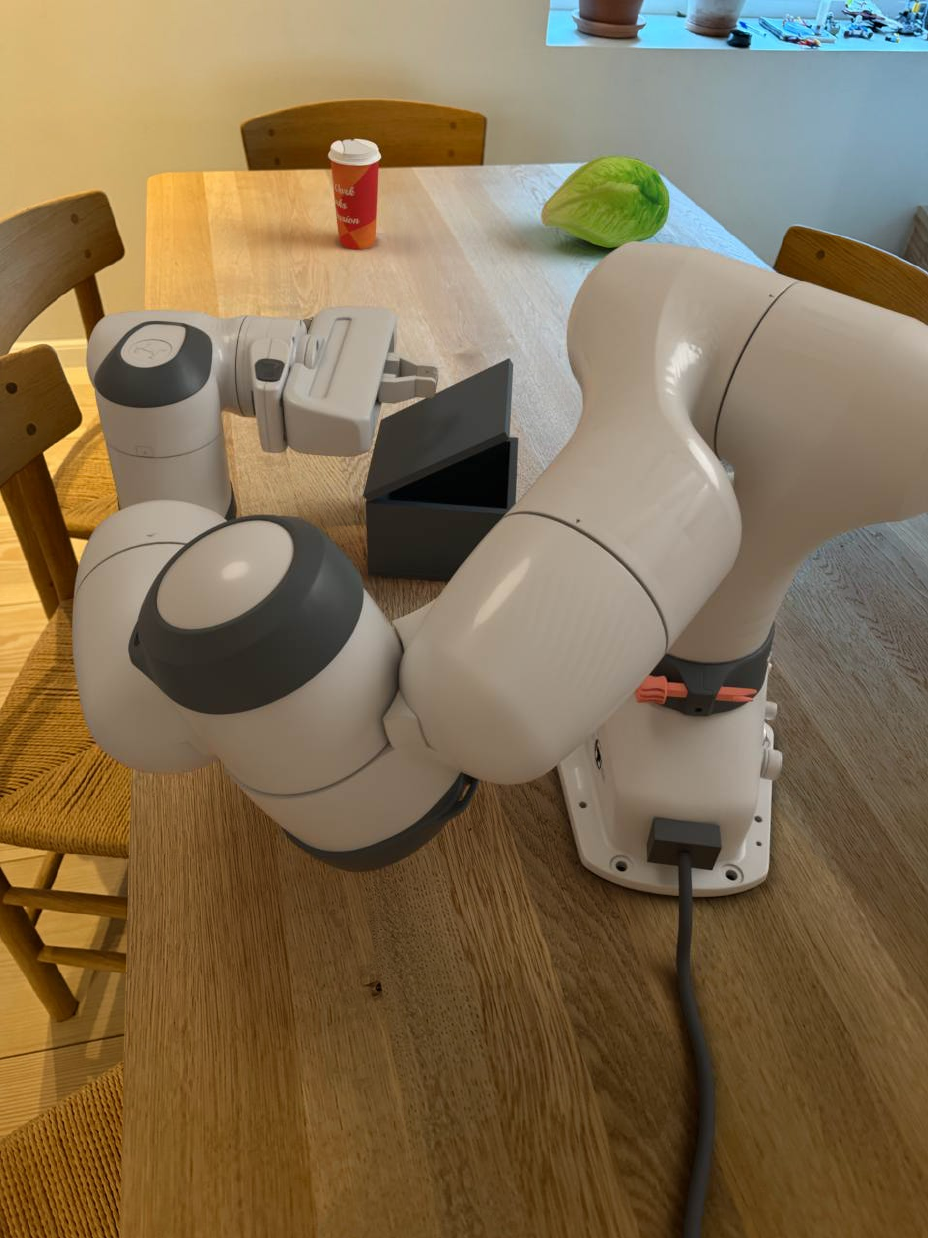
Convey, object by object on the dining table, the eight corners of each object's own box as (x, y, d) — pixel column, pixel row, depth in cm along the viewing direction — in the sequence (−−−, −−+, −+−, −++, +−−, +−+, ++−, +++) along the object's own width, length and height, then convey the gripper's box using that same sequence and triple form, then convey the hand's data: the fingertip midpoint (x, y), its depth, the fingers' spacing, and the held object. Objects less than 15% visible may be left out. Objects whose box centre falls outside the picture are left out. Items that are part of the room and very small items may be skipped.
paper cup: (325, 235, 150) (320, 139, 140) (371, 229, 152) (369, 135, 142) (342, 255, 145) (338, 157, 135) (389, 248, 147) (389, 152, 137)
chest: (511, 507, 101) (518, 437, 95) (507, 587, 92) (515, 514, 86) (383, 498, 102) (382, 427, 95) (367, 576, 93) (365, 503, 86)
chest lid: (513, 364, 90) (509, 357, 89) (509, 439, 81) (504, 431, 80) (385, 426, 95) (380, 419, 95) (368, 502, 86) (362, 495, 86)
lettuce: (528, 226, 156) (536, 137, 147) (646, 223, 159) (661, 136, 150) (550, 266, 145) (560, 173, 136) (676, 263, 148) (694, 171, 139)
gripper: (305, 345, 94) (445, 355, 94) (260, 464, 80) (425, 476, 79) (301, 283, 90) (447, 294, 90) (252, 397, 75) (426, 411, 75)
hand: (437, 381), depth 84 cm, fingers closed
